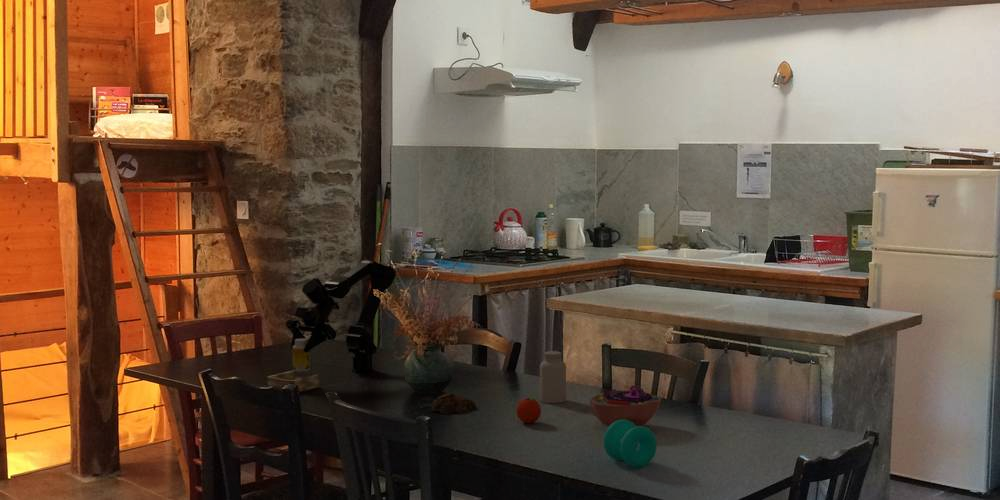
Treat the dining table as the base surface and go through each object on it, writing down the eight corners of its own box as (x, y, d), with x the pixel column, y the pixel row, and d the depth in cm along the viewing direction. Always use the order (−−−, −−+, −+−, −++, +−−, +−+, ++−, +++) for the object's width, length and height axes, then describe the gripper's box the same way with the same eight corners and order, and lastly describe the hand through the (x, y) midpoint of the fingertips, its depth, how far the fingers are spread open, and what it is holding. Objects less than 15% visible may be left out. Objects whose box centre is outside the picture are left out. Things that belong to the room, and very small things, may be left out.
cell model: (578, 423, 287) (579, 383, 286) (642, 417, 294) (642, 378, 293) (606, 439, 271) (606, 396, 270) (672, 431, 278) (673, 390, 277)
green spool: (634, 455, 256) (634, 416, 255) (659, 465, 247) (659, 425, 246) (601, 461, 251) (601, 421, 251) (624, 472, 243) (625, 430, 242)
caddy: (292, 382, 341) (292, 370, 341) (319, 386, 334) (319, 374, 334) (265, 389, 331) (265, 376, 331) (292, 393, 325) (292, 381, 324)
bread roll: (446, 403, 313) (446, 387, 313) (480, 408, 307) (480, 391, 306) (421, 412, 302) (421, 395, 302) (457, 417, 296) (456, 400, 295)
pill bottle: (535, 402, 312) (535, 353, 311) (546, 397, 319) (546, 349, 318) (559, 405, 308) (559, 355, 307) (570, 399, 316) (570, 351, 314)
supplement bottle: (309, 371, 333) (308, 340, 332) (291, 372, 333) (290, 340, 332) (311, 368, 339) (310, 337, 338) (294, 368, 338) (293, 337, 337)
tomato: (538, 418, 293) (538, 393, 292) (548, 424, 286) (548, 399, 286) (512, 421, 290) (512, 396, 289) (521, 427, 283) (521, 401, 283)
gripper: (288, 295, 342) (264, 333, 334) (329, 299, 332) (305, 338, 324) (305, 315, 349) (282, 353, 341) (346, 320, 339) (324, 359, 331)
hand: (298, 350), depth 334 cm, fingers closed on supplement bottle, 6 cm apart
